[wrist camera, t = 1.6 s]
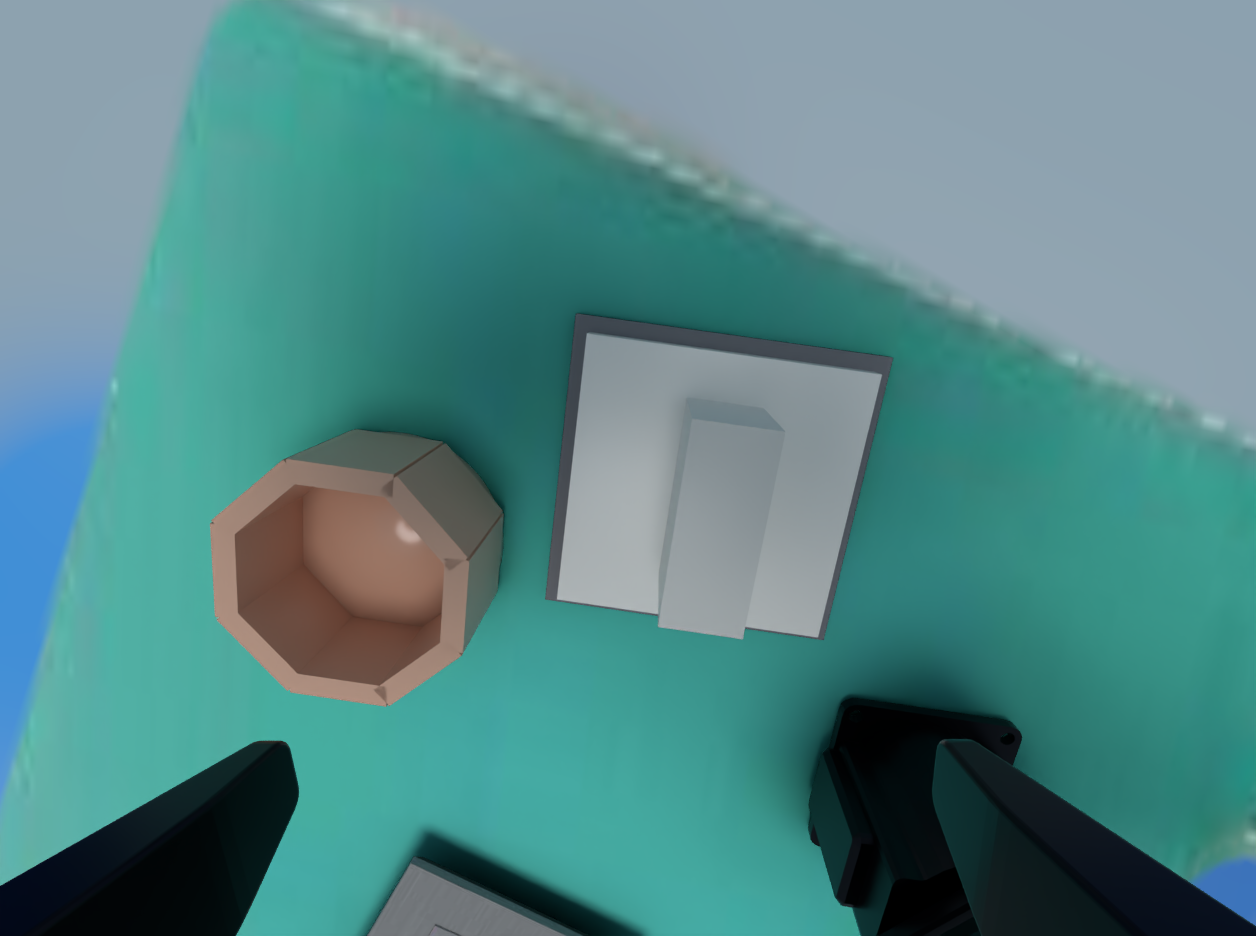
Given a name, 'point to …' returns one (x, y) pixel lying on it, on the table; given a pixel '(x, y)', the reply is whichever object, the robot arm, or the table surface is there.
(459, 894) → the electrical outlet
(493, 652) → the table surface
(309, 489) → the bowl
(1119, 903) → the robot arm
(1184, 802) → the table surface
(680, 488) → the lid
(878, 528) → the table surface
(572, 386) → the mat
